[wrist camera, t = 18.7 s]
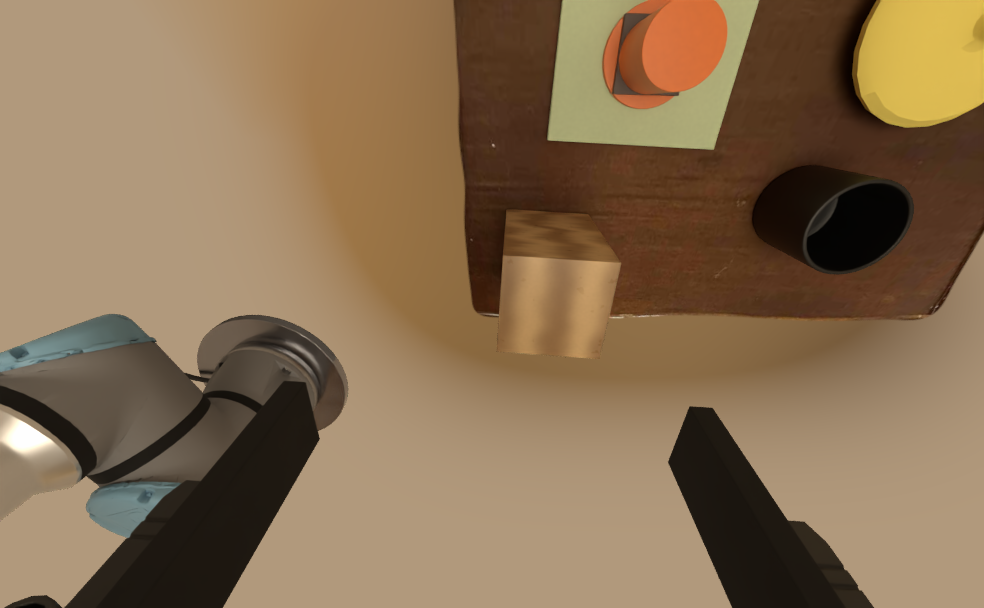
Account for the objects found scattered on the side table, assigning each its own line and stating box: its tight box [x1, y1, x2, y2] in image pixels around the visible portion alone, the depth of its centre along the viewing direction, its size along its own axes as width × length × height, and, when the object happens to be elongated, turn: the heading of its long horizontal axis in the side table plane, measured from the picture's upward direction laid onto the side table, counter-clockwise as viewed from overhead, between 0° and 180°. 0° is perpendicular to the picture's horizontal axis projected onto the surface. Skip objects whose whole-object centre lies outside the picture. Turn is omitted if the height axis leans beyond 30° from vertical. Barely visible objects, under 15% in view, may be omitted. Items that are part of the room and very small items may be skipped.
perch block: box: [497, 209, 621, 359], centre depth 41 cm, size 10×10×16 cm
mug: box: [753, 165, 914, 274], centre depth 40 cm, size 9×12×9 cm
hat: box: [602, 0, 727, 109], centre depth 33 cm, size 9×9×9 cm
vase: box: [852, 0, 984, 128], centre depth 33 cm, size 16×16×7 cm
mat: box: [547, 0, 759, 150], centre depth 37 cm, size 18×16×1 cm
